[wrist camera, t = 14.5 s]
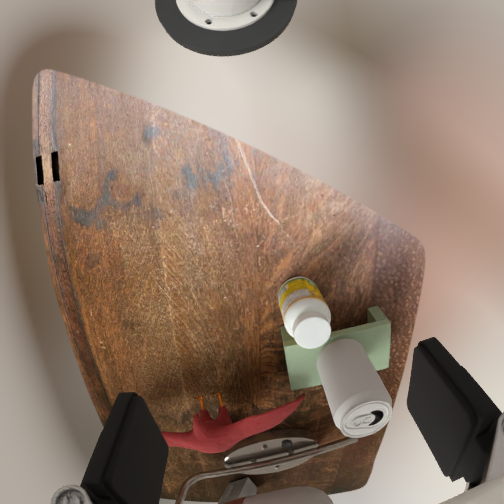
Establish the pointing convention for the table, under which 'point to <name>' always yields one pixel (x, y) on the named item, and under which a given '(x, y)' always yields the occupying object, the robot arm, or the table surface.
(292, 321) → the supplement bottle
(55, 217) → the table surface
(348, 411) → the beverage can
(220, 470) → the light fixture
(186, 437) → the decorative bird sculpture
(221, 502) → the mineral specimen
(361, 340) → the shelf
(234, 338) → the table surface
